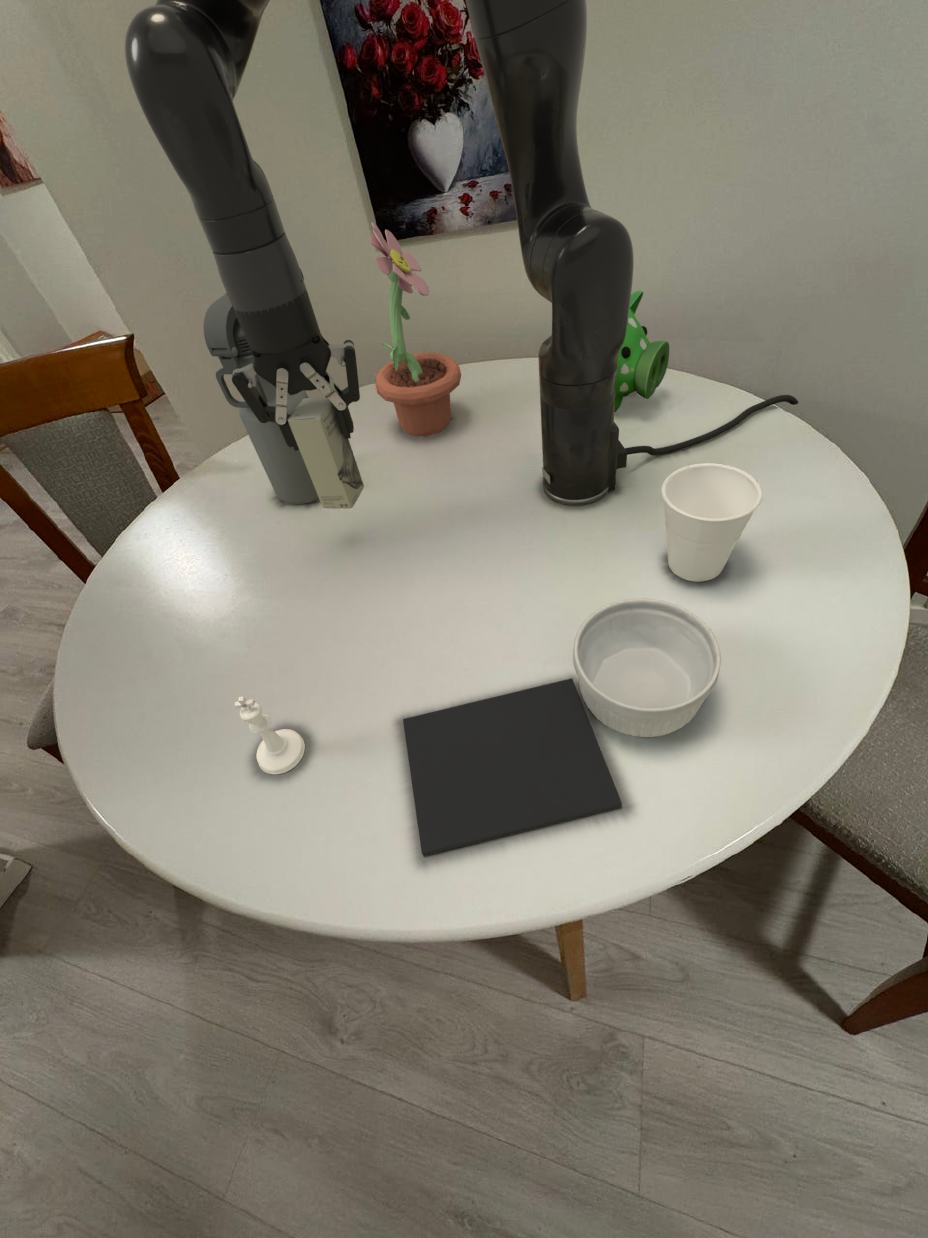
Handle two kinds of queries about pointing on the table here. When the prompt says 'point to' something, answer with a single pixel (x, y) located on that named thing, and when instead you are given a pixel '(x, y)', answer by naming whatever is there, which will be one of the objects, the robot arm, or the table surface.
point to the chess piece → (271, 740)
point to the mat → (505, 767)
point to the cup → (706, 516)
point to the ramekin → (645, 665)
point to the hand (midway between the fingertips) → (323, 440)
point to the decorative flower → (417, 377)
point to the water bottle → (266, 437)
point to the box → (326, 453)
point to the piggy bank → (639, 359)
